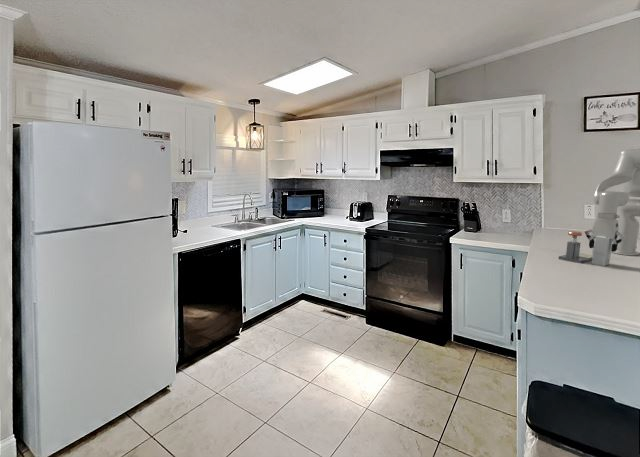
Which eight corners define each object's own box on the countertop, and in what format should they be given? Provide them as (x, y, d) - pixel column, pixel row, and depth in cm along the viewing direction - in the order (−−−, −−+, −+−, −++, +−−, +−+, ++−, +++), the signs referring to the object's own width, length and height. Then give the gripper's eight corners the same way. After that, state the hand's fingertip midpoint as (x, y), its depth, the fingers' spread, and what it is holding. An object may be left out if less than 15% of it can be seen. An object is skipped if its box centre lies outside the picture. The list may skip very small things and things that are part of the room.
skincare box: (596, 261, 191) (599, 234, 189) (610, 263, 187) (613, 235, 184) (591, 264, 186) (594, 235, 184) (605, 266, 182) (609, 237, 179)
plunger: (570, 248, 196) (571, 230, 195) (582, 250, 191) (584, 232, 190) (564, 249, 193) (566, 231, 192) (576, 251, 188) (578, 233, 187)
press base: (574, 255, 205) (576, 238, 203) (597, 259, 196) (599, 241, 194) (558, 259, 197) (560, 241, 195) (580, 263, 187) (583, 244, 186)
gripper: (631, 218, 177) (626, 252, 179) (591, 214, 192) (586, 246, 194) (624, 218, 173) (619, 253, 176) (583, 215, 188) (579, 247, 191)
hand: (602, 249), depth 185 cm, fingers open, 9 cm apart
